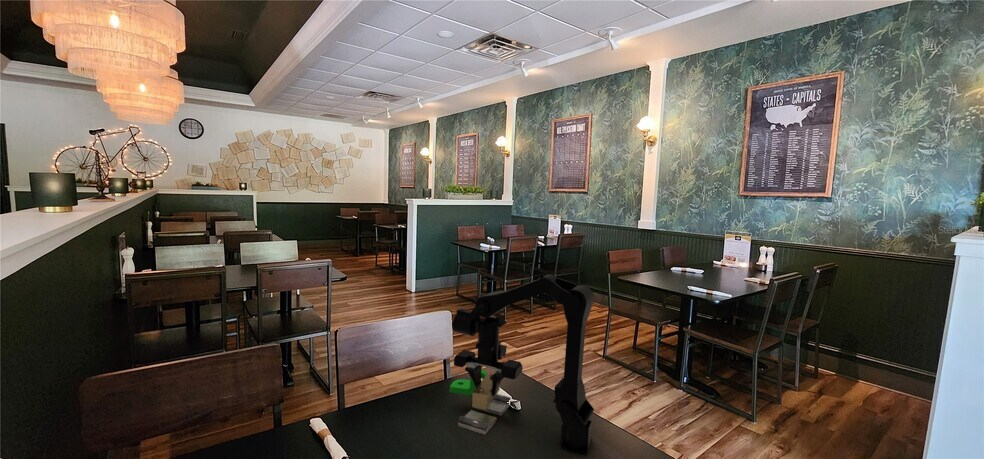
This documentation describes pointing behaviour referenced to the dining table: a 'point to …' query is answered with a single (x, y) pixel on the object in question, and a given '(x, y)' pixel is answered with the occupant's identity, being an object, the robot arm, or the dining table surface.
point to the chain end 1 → (498, 405)
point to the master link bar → (484, 393)
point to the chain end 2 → (477, 422)
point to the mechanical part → (465, 385)
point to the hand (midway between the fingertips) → (486, 393)
